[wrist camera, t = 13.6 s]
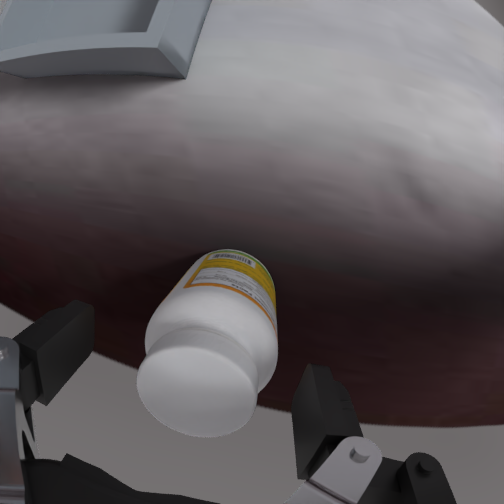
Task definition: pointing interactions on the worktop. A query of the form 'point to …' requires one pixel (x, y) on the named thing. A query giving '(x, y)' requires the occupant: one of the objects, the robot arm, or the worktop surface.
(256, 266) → the supplement bottle
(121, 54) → the tote
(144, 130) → the worktop surface
